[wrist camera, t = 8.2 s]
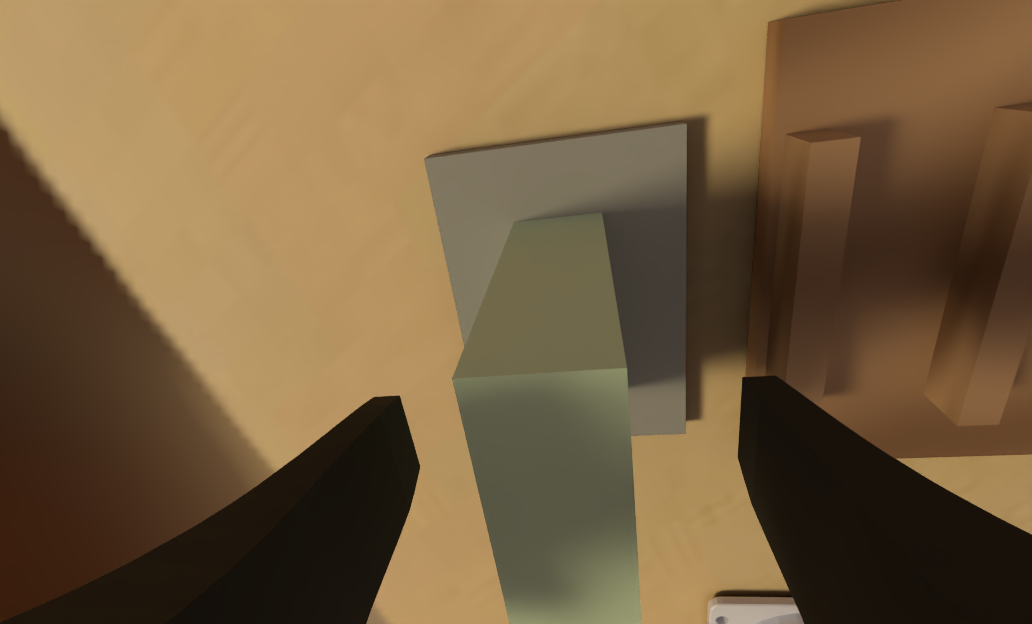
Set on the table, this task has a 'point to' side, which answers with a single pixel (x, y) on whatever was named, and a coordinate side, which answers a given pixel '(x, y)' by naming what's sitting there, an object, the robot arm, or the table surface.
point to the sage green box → (554, 427)
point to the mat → (628, 228)
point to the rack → (900, 223)
